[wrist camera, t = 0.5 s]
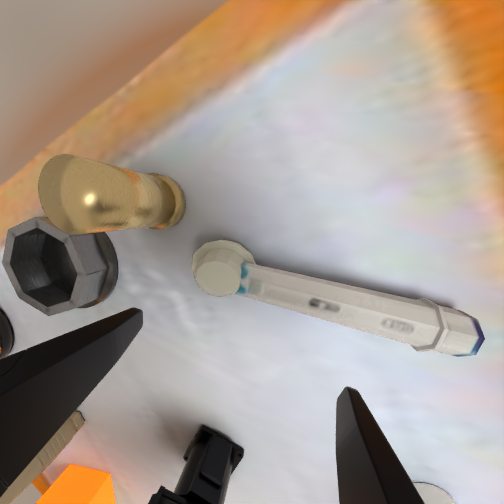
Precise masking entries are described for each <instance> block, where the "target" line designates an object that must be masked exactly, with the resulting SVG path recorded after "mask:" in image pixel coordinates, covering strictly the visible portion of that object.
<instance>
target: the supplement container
mask: <svg viewBox="0 0 504 504" xmlns="http://www.w3.org/2000/svg"><path fill="white" fill-rule="evenodd" d="M12 342H13V334H12V330H11V326H10V324H9V322H8V320H7V318H6V317H5V315H4V314H3V313H2V312H1V311H0V359H2V358H5V357H6V356H7V355H8V353H9V352H10V349H11V347H12Z"/></svg>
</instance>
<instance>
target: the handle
mask: <svg viewBox="0 0 504 504" xmlns="http://www.w3.org/2000/svg"><path fill="white" fill-rule="evenodd" d="M83 424H84V419H83V418H82V417H81V413H80V412H76V411H74V412H73V414H72V415H71V416H70V417H69V418H68V419H67V421H66V422H65V423H64V424H63V425H62V426H61V427H60V429H59V430H58V431H57V432H56V433H55V434H54V436H53V437H52V438H51V439H50V440H49V441H48V443H47V444H46V445H45V446H44V447H43V448H42V450H41V451H40V452H39V453H38V454H37V455H36V457H35V458H34V459H33V460H32V461H31V462H30V464H29V465H28V466H27V467H26V468H25V469H24V470H23V472H22V473H21V474H20V475H19V476H18V477H17V479H16V480H15V481H14V482H13V483H12V484H11V486H10V487H8V489H7V490H6V492H5V493H4V494H3V495H2V496H1V497H0V504H10V503H11V502H12V501H13V500H14V499H15V498H16V497H17V496H18V495H19V494H20V493H21V492H22V491H23V490H24V489H25V488H26V487H27V486H28V485H29V484H30V483H32V482H33V481H34V480H35V479H36V478H37V477H38V476H39V475H40V474H41V472H43V471H44V470H45V469H46V468H47V466H48V465H49V464H50V463H51V462H52V461H53V460H54V459H55V458H56V457H57V456H58V454H59V453H60V452H61V451H62V450H63V449H64V448H65V447H66V445H67V444H68V443H69V442H70V440H71V439H72V438H73V436H74V435H75V434H76V433H77V431H78V430H79V429H80V428H81V427H82V425H83Z"/></svg>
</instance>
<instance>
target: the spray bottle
mask: <svg viewBox="0 0 504 504" xmlns="http://www.w3.org/2000/svg"><path fill="white" fill-rule="evenodd" d="M413 484H414V486H415V488H416V489H417V491H418V493H419V494H420V496H421V498H422V499H423V501H424V503H425V504H456V503H455V501H454V500H453V498H452V497H451V496H450V495H449V494H448V493H446V492H445V491H444V490H442V489H440V488H438V487H436V486H434V485H430V484H426V483H413Z"/></svg>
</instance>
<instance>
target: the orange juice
mask: <svg viewBox="0 0 504 504" xmlns="http://www.w3.org/2000/svg"><path fill="white" fill-rule="evenodd" d="M36 504H115V499H114V493H113V487H112V482H111V476H110V473H107V472H103V471H98V470H94V469H90V468H86V467H82V466H78V465H73V464H70V465H69V466H68V467H67V468H66V470H65V471H64V472H63V473H62V474H61V475H60V476H59V477H58V479H57V480H56V481H55V482H54V483H53V484H52V485H51V487H50V488H49V489H48V490H47V491H46V492H45V493H44V495H43V496H42V497H41V498H40V499H39V500H38V501H37V503H36Z"/></svg>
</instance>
